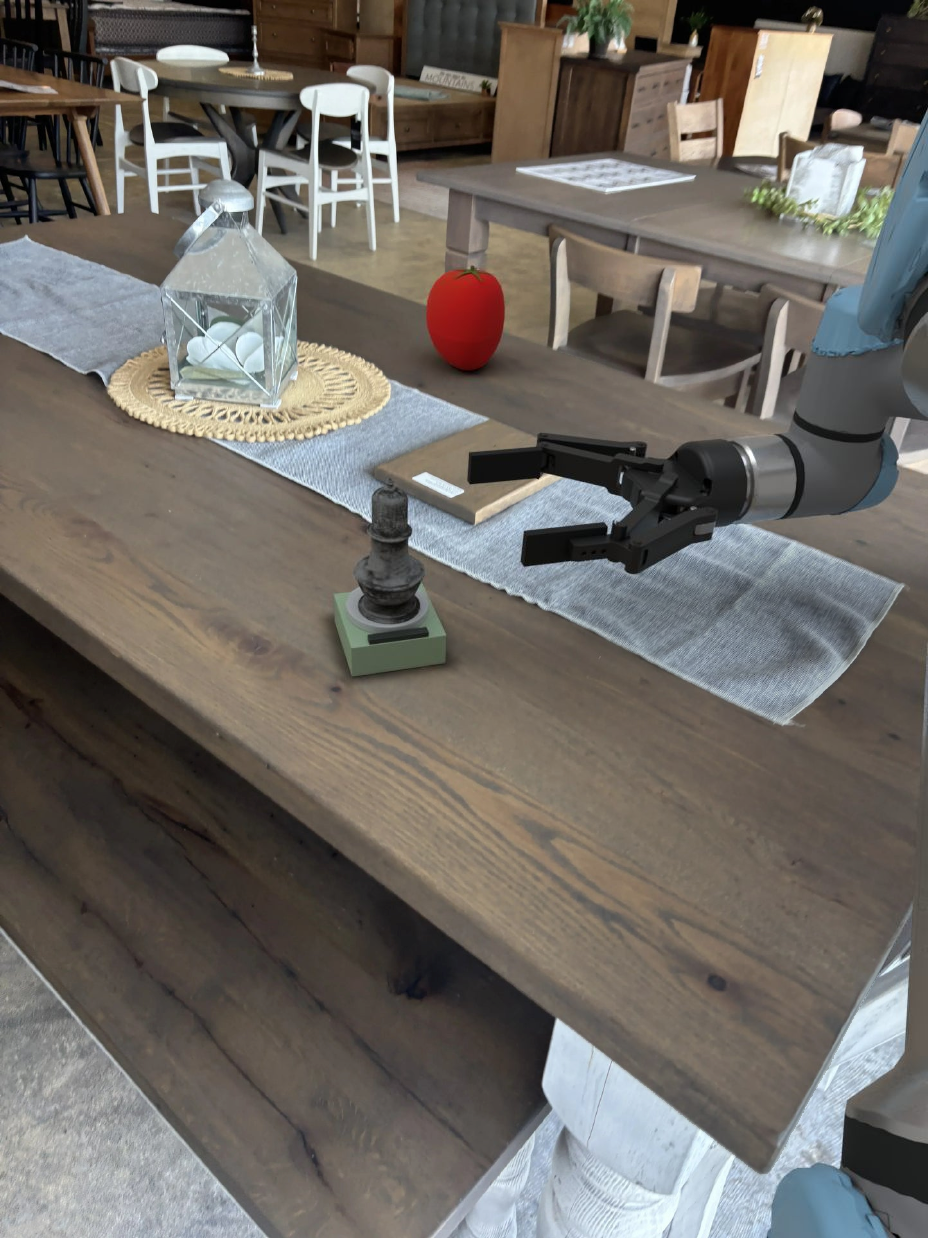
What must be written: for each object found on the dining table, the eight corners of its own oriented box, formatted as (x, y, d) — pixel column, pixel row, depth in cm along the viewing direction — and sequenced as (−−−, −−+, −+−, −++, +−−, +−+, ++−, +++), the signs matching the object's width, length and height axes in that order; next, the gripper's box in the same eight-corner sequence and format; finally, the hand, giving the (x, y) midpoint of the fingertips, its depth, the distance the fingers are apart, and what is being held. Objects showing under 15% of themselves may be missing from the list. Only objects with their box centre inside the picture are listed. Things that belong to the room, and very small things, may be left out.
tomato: (505, 381, 130) (513, 279, 122) (426, 379, 129) (429, 276, 121) (495, 350, 140) (502, 255, 132) (422, 349, 139) (425, 252, 131)
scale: (445, 663, 77) (447, 627, 75) (351, 677, 75) (351, 640, 72) (421, 610, 83) (422, 575, 81) (334, 621, 81) (333, 585, 79)
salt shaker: (406, 633, 73) (408, 502, 67) (341, 615, 75) (337, 485, 68) (434, 597, 78) (440, 470, 71) (373, 580, 80) (372, 454, 73)
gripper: (798, 597, 71) (546, 633, 65) (653, 459, 90) (448, 478, 84) (825, 513, 67) (557, 543, 61) (667, 387, 86) (452, 401, 80)
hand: (493, 505), depth 73 cm, fingers open, 13 cm apart
